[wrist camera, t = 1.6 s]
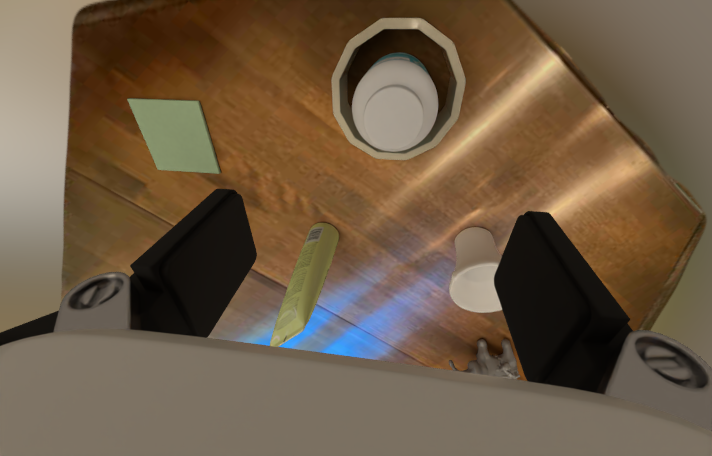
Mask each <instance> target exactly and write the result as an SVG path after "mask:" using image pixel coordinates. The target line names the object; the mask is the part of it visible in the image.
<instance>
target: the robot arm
mask: <svg viewBox="0 0 712 456" xmlns="http://www.w3.org/2000/svg"><path fill="white" fill-rule="evenodd" d="M256 256H257V253H256V248H255V245H254V241H253V237H252V233H251V229H250V226H249V222H248V218H247V214H246V211H245V207H244V203H243V199H242V196H241V195H240V194H237V192H236V191H235V190H230V189H216V190H215V191H214V192H212V193H211V194H210V195H209V196H208V197H207V198H206V199H205V200H203V201H202V202H201V203H200V204H199V205H198V206H197V207H196V208H194V209H193V210H192V211H191V212H190V213H189V214H188V215H187V216H185V217H184V218H183V219H182V220H181V221H180V222H179V223H178V224H176V225H175V226H174V227H173V228H172V229H171V230H170V231H169V232H167V233H166V234H165V235H164V236H163V237H162V238H161V239H160V240H158V241H157V242H156V243H155V244H154V245H153V246H152V247H151V248H149V249H148V250H147V251H146V252H145V253H144V254H143V255H142V256H140V257H139V258H138V259H137V260H136V261H135V262H134V263H133V264H131V265H130V266H131V268H132V270H133V271H134V274H133V275H131V276H130V277H129V276H128V275H126V274H125V273H121V272H108V273H104V274H100V275H97V276H94V277H92V278H89V279H87V280H85V281H83V282H82V283H80V284H78V285H77V286H75V287H74V288H73V289H71V290H70V291H69V292H68V293H67V294H66V295H65V297H64V298H63V300H62V302H61V305H60V309H59V311H57V312H54V313H51V314H49V315H46V316H43V317H41V318H38V319H36V320H33V321H30V322H28V323H25V324H22V325H20V326H17V327H14V328H12V329H9V330H6V331H4V332H1V333H0V456H712V369H711V367H710V366H708V364H707V363H706V362H705V361H704V360H703V359H702V358H701V357H700V356H698V355H697V354H696V353H694V352H693V351H692V350H691V349H689V348H688V347H686V346H685V345H683V344H681V343H679V342H678V341H676V340H674V339H672V338H669V337H667V336H665V335H663V334H660V333H656V332H652V331H647V330H637V331H633V330H632V329H631V328H630V326H629V325H628V324H627V323H628V321H629V320H630V318H629V317H628V316H627V315H626V313H625V312H624V311H623V309H622V308H621V307H620V305H619V304H618V303H617V301H616V300H615V299H614V297H613V296H612V295H611V293H610V292H609V291H608V290H607V288H606V287H605V286H604V284H603V283H602V282H601V280H600V279H599V278H598V276H597V275H596V274H595V272H594V271H593V270H592V268H591V267H590V266H589V264H588V263H587V262H586V261H585V259H584V258H583V257H582V255H581V254H580V253H579V251H578V250H577V249H576V247H575V246H574V245H573V243H572V242H571V241H570V239H569V238H568V237H567V236H566V234H565V233H564V232H563V230H562V229H561V228H560V226H559V225H558V224H557V222H556V221H555V220H554V218H553V217H552V216H551V214H549V213H547V212H534V211H528V212H526V213H525V214H524V215H520V216H519V217H518V219H517V221H516V223H515V226H514V228H513V231H512V233H511V236H510V238H509V241H508V243H507V245H506V248H505V250H504V253H503V255H502V258H501V260H500V263H499V265H498V268H497V270H496V273H495V275H494V286H495V289H496V292H497V295H498V298H499V301H500V304H501V307H502V310H503V313H504V316H505V319H506V322H507V324H508V327H509V330H510V333H511V336H512V339H513V342H514V345H515V348H516V351H517V354H518V357H519V360H520V363H521V365H522V368H523V371H524V374H525V377H526V379H527V380H528V381H529V382H528V381H522V380H515V379H509V378H502V377H495V376H488V375H481V374H474V373H466V372H459V371H452V370H445V369H438V368H430V367H423V366H416V365H409V364H402V363H394V362H387V361H379V360H372V359H364V358H357V357H350V356H342V355H335V354H327V353H320V352H312V351H304V350H297V349H289V348H282V347H274V346H266V345H258V344H251V343H243V342H235V341H227V340H219V339H211V338H207V337H208V336H209V334H210V333H211V331H212V330H213V328H214V327H215V325H216V323H217V322H218V320H219V318H220V317H221V315H222V314H223V312H224V310H225V309H226V307H227V306H228V304H229V302H230V301H231V299H232V298H233V296H234V294H235V293H236V291H237V290H238V288H239V286H240V285H241V283H242V282H243V280H244V278H245V277H246V275H247V274H248V272H249V270H250V269H251V267H252V266H253V264H254V262H255V260H256Z"/></svg>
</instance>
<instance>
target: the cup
mask: <svg viewBox="0 0 712 456" xmlns="http://www.w3.org/2000/svg"><path fill="white" fill-rule="evenodd" d="M454 243H455V249H456V257H457V262H456V266H455V271H454V272H453V273H452V279H451V281H450V284H449V292H450V295H451V298H452V300H453V301H454V302H455V303H456V304H457V305H458V306H460V307H461V308H463V309H466V310H468V311H472V312H494V311H499V310H502V307H501V304H500V301H499V298H498V295H497V292H496V289H495V286H494V275H495V273H496V270H497V268H498V265H499V263H500V260H501V258H502V255H501V254H500V253H499V251H498V249H497V247H496V245H495V242H494V238H493V236H492V234H491V232H489V231H488V230H486V229H483V228H480V227H471V228H467V229H464V230H463V231H461V232H460V233H459V234H458V235H457V236H456V238H455V242H454Z"/></svg>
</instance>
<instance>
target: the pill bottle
mask: <svg viewBox="0 0 712 456" xmlns="http://www.w3.org/2000/svg"><path fill="white" fill-rule="evenodd" d="M437 113H438V95H437V91H436V88H435V85H434V83H433V81H432V79H431V77H430V75H429V74H428V72H427V70H426V68H425V66H424V65H423V64H422V63H421V62H420V61H419V60H418V59H417V58H416V57H414V56H412V55H410V54H407V53H401V52H397V53H391V54H388V55H385V56H383V57H382V58H380V59H379V60H378V61H377V62H375V63H374V64H373V66H372V67H371V68H370V69H369V70H368V72H367V73H366V74H365V75H364V77H363V78H362V79H361V81H360V82H359V84H358V86H357V88H356V90H355V93H354V96H353V101H352V115H353V120H354V123H355V126H356V128H357V130H358V132H359V133H360V135H361V136H362V137H363V139H364V140H365V141H367V142H368V143H369V144H370V145H372V146H373V147H375V148H378V149H380V150H383V151H390V152H397V151H403V150H406V149H409V148H411V147H413V146H415V145H417V144H418V143H419V142H421V141H422V140H423V139H424V138H425V137H426V136H427V134H428V133H429V132H430V130H431V129H432V127H433V125H434V123H435V120H436V117H437Z"/></svg>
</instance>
